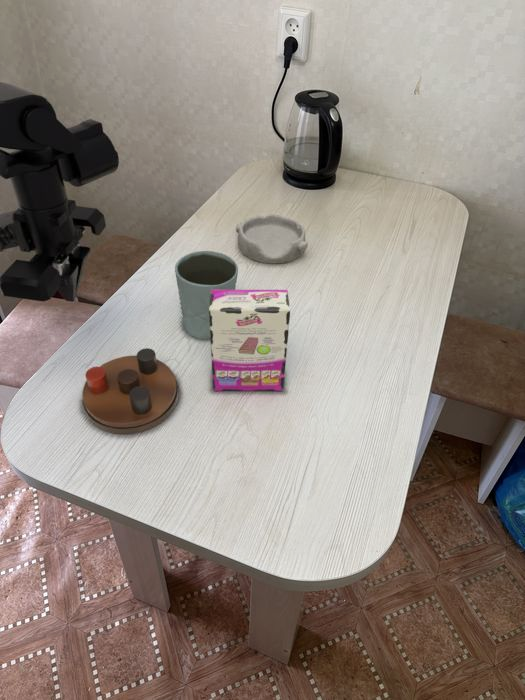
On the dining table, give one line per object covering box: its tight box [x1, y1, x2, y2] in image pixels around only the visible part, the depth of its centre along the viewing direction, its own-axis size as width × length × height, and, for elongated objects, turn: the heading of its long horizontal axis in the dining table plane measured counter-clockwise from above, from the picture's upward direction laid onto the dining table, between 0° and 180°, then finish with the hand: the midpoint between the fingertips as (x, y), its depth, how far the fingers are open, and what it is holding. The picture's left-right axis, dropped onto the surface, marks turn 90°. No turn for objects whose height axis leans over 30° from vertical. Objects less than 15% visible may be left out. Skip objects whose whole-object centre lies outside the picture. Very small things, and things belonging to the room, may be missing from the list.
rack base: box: [82, 378, 179, 435], centre depth 76 cm, size 14×14×1 cm
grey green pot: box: [174, 250, 239, 340], centre depth 86 cm, size 10×10×12 cm
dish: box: [235, 213, 309, 264], centre depth 107 cm, size 14×14×5 cm
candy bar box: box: [209, 289, 291, 392], centre depth 75 cm, size 11×5×16 cm, turn 92°
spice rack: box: [82, 347, 177, 428], centre depth 74 cm, size 14×14×4 cm
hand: (70, 299), depth 72 cm, fingers closed
